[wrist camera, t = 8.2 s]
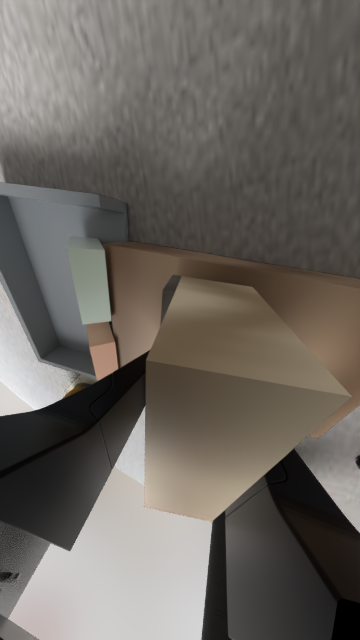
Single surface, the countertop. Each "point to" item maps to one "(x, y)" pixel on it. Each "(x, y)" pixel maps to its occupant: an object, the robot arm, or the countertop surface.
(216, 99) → the countertop surface
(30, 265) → the tray
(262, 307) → the tall cream block
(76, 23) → the countertop surface
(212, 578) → the drinking cup
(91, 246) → the tile sage
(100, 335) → the tile terracotta
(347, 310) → the walnut board
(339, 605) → the robot arm
